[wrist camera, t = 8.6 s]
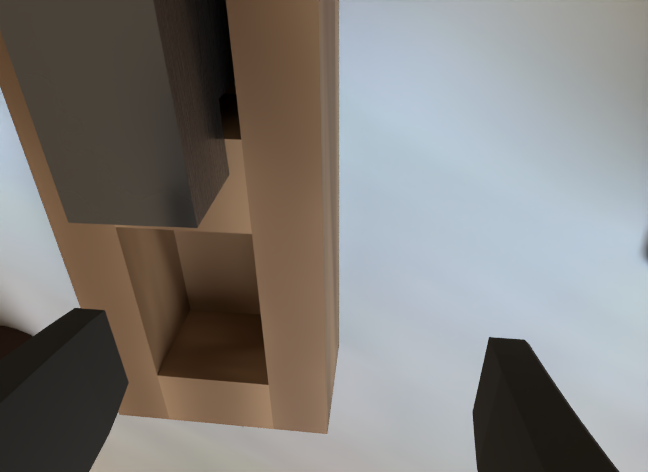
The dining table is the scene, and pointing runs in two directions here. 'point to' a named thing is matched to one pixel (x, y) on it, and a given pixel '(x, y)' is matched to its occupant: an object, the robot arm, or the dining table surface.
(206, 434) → the dining table surface
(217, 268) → the wooden slotted block
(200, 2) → the grey rectangular block
